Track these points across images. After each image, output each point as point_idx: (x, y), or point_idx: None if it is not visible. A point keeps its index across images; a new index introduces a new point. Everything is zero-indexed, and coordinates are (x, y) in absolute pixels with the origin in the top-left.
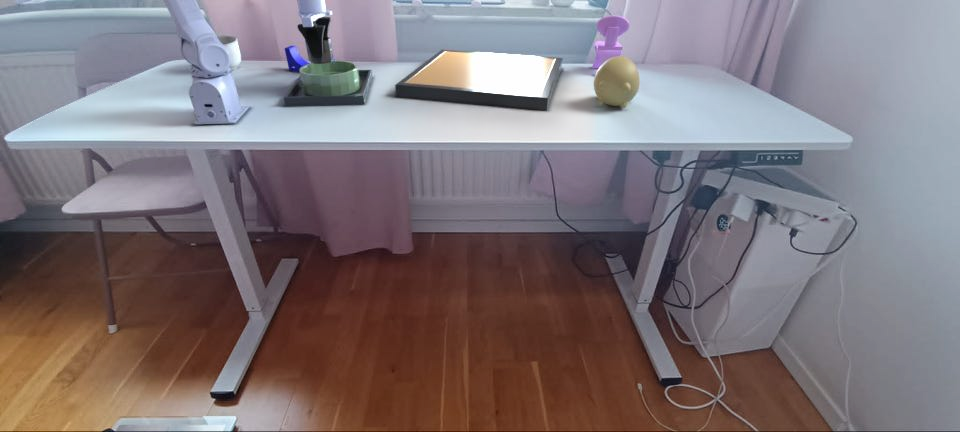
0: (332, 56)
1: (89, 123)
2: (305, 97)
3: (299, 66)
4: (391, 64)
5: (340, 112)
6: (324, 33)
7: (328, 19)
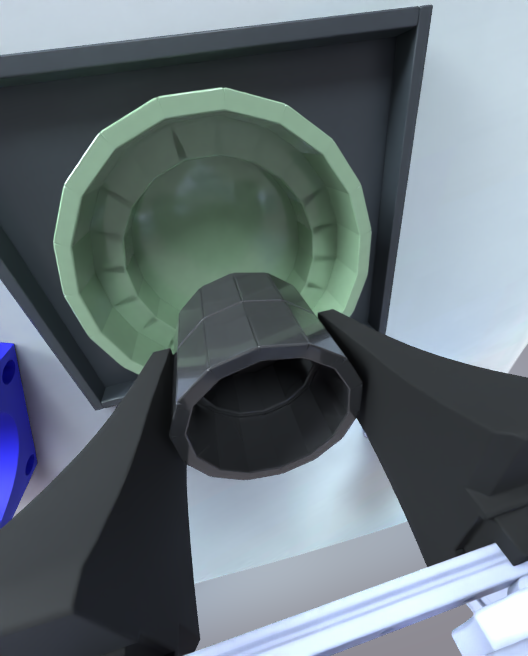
0: (246, 278)
1: (391, 503)
2: (392, 280)
3: (22, 451)
4: None
5: (464, 125)
6: (152, 447)
7: (84, 603)
